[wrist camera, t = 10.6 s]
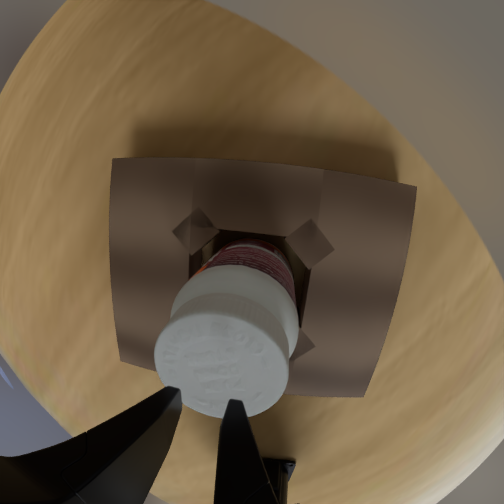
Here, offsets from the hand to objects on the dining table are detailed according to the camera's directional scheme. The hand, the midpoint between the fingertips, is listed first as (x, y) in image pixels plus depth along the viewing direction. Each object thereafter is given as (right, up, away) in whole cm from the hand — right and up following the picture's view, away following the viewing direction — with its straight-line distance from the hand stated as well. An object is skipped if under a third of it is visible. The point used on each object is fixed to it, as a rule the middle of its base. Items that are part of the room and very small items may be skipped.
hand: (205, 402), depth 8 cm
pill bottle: (+1, +3, +13) cm, 13 cm away
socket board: (+1, +3, +13) cm, 13 cm away
